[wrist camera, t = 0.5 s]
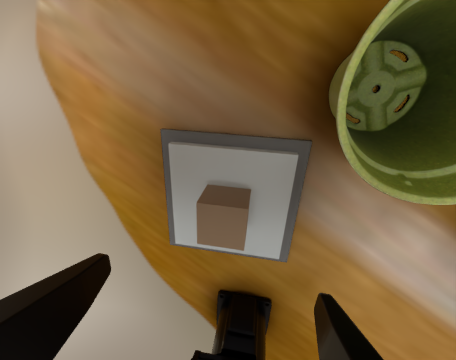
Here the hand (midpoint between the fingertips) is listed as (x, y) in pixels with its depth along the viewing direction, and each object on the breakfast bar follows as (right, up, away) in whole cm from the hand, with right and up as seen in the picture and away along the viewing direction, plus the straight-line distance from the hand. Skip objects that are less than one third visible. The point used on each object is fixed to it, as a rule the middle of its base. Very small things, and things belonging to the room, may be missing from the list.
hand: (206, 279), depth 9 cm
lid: (+1, +2, +12) cm, 12 cm away
